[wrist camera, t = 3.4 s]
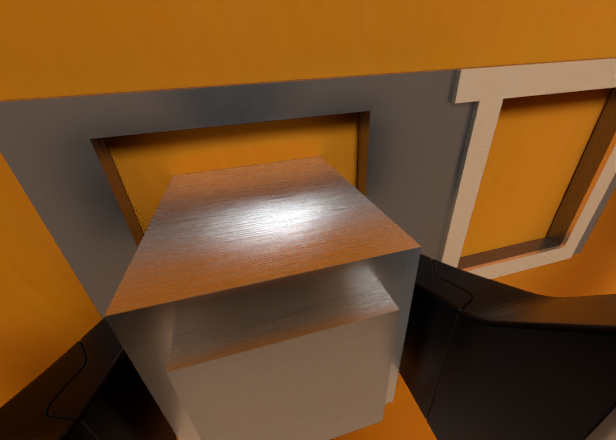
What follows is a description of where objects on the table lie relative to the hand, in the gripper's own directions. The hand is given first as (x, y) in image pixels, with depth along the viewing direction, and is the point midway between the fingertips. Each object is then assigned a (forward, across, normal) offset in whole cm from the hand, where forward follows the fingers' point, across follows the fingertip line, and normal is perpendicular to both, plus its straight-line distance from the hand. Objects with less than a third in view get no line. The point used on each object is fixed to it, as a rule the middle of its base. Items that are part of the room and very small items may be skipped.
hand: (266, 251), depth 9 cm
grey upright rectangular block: (+2, 0, 0) cm, 2 cm away
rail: (+2, -6, 0) cm, 6 cm away
